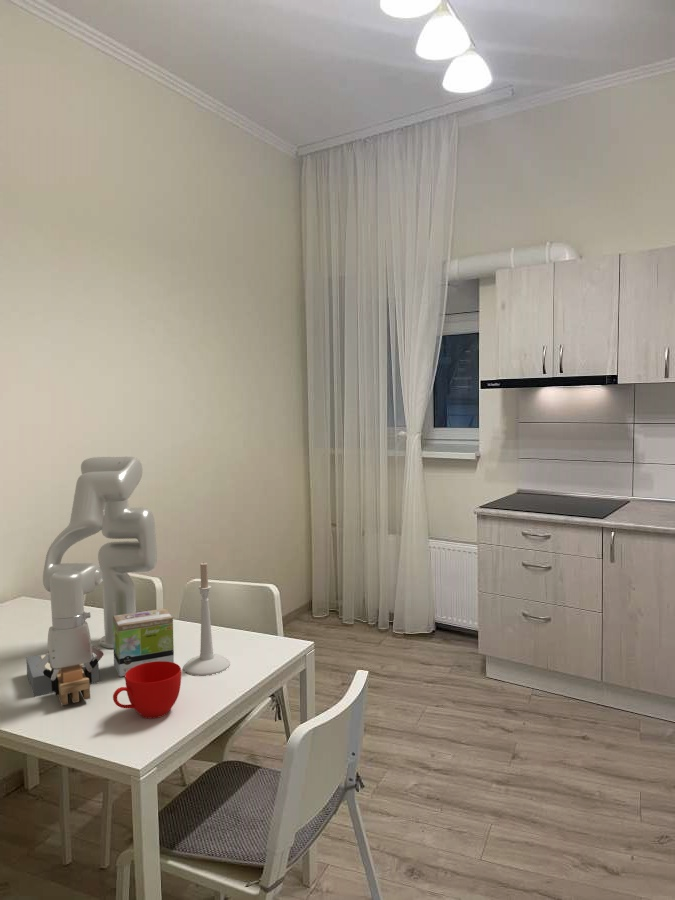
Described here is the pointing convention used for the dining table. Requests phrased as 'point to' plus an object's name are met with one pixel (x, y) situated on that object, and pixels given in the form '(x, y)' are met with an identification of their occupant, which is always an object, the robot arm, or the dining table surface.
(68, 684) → the pallet
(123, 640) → the tea box
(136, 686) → the ceramic cup
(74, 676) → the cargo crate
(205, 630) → the candlestick
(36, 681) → the dock
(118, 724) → the dining table surface
